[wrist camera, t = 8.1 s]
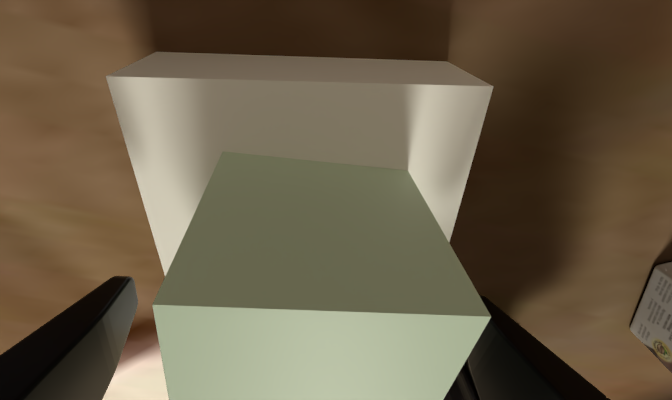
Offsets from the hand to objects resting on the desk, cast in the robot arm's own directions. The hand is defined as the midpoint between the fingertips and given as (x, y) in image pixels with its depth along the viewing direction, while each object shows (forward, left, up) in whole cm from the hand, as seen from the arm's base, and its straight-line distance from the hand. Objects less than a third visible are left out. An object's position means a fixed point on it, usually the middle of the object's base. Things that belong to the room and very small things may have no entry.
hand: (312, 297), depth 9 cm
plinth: (0, 0, -7) cm, 7 cm away
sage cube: (0, 0, -3) cm, 3 cm away
